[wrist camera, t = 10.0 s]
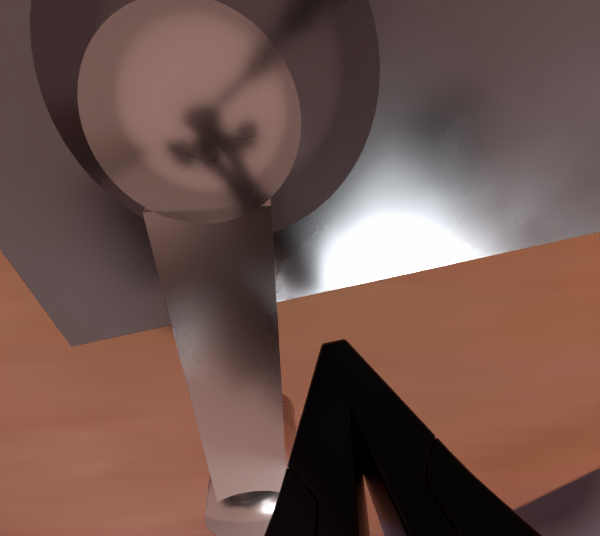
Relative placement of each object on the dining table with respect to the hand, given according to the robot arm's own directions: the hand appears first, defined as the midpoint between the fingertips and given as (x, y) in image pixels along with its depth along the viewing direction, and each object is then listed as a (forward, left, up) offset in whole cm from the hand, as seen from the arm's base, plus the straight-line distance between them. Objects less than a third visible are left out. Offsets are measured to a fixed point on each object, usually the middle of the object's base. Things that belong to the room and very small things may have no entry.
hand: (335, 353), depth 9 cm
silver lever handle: (+1, -6, -2) cm, 6 cm away
